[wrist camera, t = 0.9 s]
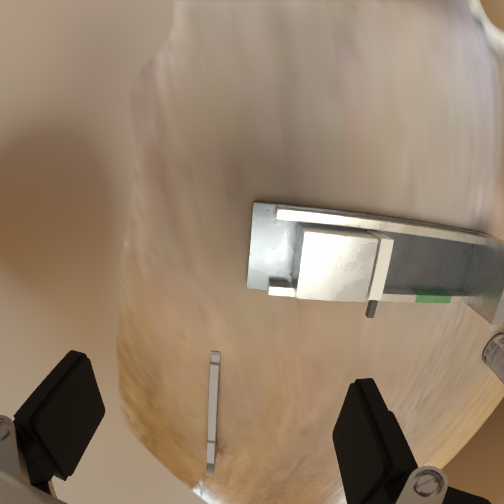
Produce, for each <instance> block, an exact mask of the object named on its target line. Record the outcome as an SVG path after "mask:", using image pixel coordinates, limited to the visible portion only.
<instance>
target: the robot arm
mask: <svg viewBox="0 0 504 504" xmlns="http://www.w3.org/2000/svg"><path fill="white" fill-rule="evenodd" d="M104 414H105V407H104V404H103V401H102V398H101V395H100V392H99V389H98V386H97V382H96V379H95V375H94V372H93V369H92V365H91V361H90V359H89V358H87V356H86V354H85V353H81V352H77V351H74V350H71V351H69V353H67V354H66V356H65V357H64V358H63V359H62V360H61V361H60V363H58V364H57V366H56V367H55V368H54V369H53V370H52V371H51V372H50V373H49V375H48V376H47V377H46V378H45V379H44V380H43V381H42V383H41V384H40V385H39V386H38V387H37V388H36V390H35V391H34V392H33V393H32V394H31V395H30V397H29V398H28V399H27V400H26V401H25V403H24V404H23V405H22V406H21V408H20V409H19V410H18V411H17V412H16V414H15V415H14V418H15V420H14V421H12V420H11V419H10V418H8V417H7V416H4V415H0V504H67V503H65V502H63V501H61V500H59V499H57V496H56V494H55V490H54V487H53V484H52V481H51V479H52V477H53V475H54V476H56V477H58V478H60V479H62V480H64V481H66V479H67V477H68V476H71V475H72V474H73V473H74V471H75V469H76V467H77V465H78V463H79V461H80V459H81V457H82V455H83V453H84V452H85V449H86V448H87V446H88V444H89V442H90V440H91V439H92V437H93V435H94V433H95V431H96V429H97V427H98V426H99V424H100V422H101V420H102V418H103V417H104ZM333 442H334V447H335V451H336V455H337V460H338V464H339V469H340V473H341V477H342V482H343V487H344V491H345V496H346V501H347V504H491V503H490V502H489V501H488V500H487V499H484V498H483V497H479V496H476V495H472V494H470V493H466V492H463V491H460V490H458V489H454V488H452V487H449V486H448V480H447V477H446V475H445V474H444V472H443V471H441V470H440V469H438V468H436V467H433V466H422V467H420V468H418V465H417V463H416V461H415V459H414V456H413V454H412V452H411V450H410V447H409V445H408V443H407V441H406V439H405V437H404V434H403V432H402V430H401V428H400V426H399V424H398V422H397V419H396V417H395V415H394V414H393V412H391V411H388V408H387V406H386V404H385V402H384V400H383V398H382V396H381V394H380V392H379V390H378V388H377V386H376V383H375V381H374V380H373V379H372V378H366V379H356V380H355V382H354V383H351V384H350V386H349V389H348V392H347V395H346V398H345V400H344V403H343V406H342V409H341V412H340V414H339V417H338V420H337V422H336V425H335V427H334V430H333Z"/></svg>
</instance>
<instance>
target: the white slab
mask: <svg viewBox="0 0 504 504" xmlns="http://www.w3.org/2000/svg"><path fill="white" fill-rule="evenodd" d="M367 232H368V233H369V234H371V235H372V236H374V237H375V238H377V239H378V244H377V249H376V255H375V260H374V265H373V270H372V274H371V279H370V284H369V288H368V292H367V298H368V300H369V303H368V307H367V310H366V314H365V315H366V316H367V318H374V314H375V310H376V307H377V303H378V301H377V300H381V297H382V293H383V289H384V285H385V280H386V276H387V272H388V267H389V263H390V258H391V253H392V248H393V242H394V240H393V239H391V238H389V237H388V236H386V235H384V234H383V233H381V232H379V231H375V230H367Z"/></svg>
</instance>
